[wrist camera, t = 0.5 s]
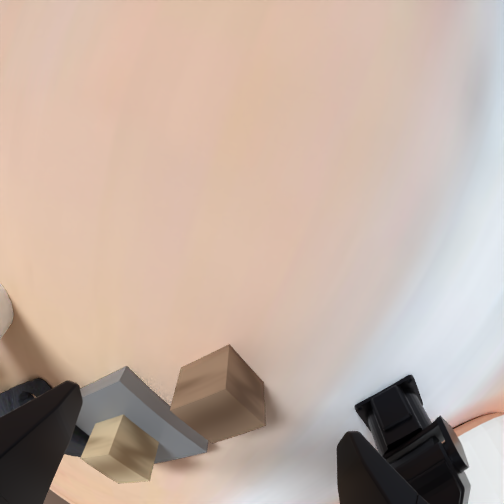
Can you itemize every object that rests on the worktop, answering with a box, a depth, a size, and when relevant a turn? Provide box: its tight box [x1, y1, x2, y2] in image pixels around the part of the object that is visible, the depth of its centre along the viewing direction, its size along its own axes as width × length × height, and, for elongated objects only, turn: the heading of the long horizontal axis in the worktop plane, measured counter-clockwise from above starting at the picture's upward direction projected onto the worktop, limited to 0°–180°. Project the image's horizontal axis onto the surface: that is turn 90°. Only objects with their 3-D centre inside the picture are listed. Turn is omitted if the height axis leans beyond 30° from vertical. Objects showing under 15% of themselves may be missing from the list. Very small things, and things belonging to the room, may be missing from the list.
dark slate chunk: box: [0, 378, 90, 457], centre depth 27 cm, size 15×22×5 cm
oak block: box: [80, 415, 159, 484], centre depth 22 cm, size 5×5×5 cm
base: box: [76, 366, 208, 464], centre depth 25 cm, size 12×12×2 cm
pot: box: [442, 413, 504, 504], centre depth 23 cm, size 42×32×20 cm
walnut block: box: [170, 344, 266, 443], centre depth 21 cm, size 5×5×5 cm
